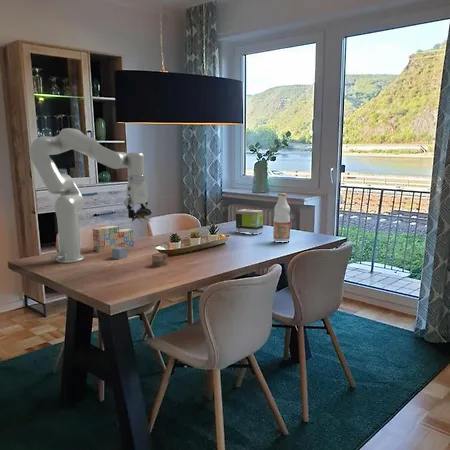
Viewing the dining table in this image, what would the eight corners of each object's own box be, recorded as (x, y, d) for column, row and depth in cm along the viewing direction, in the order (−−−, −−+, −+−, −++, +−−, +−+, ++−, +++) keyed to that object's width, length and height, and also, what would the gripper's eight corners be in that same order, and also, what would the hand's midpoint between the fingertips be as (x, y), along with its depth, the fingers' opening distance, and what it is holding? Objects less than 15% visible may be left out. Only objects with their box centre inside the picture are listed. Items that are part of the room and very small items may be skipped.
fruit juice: (270, 241, 259) (270, 193, 254) (283, 239, 263) (284, 192, 258) (279, 244, 250) (280, 194, 246) (292, 242, 255) (294, 194, 250)
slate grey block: (119, 259, 216) (119, 249, 215) (112, 258, 219) (111, 248, 218) (127, 257, 220) (126, 247, 220) (119, 256, 223) (119, 246, 222)
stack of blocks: (127, 244, 250) (126, 223, 248) (134, 246, 246) (133, 224, 244) (93, 250, 235) (92, 228, 233) (99, 252, 231) (98, 229, 229)
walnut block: (160, 267, 203) (160, 256, 202) (152, 265, 205) (152, 255, 204) (167, 264, 207) (167, 254, 206) (159, 263, 209) (159, 252, 209)
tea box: (263, 232, 284) (263, 210, 282) (256, 235, 275) (256, 212, 273) (242, 230, 291) (242, 208, 289) (235, 233, 283) (235, 210, 280)
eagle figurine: (135, 221, 204) (153, 216, 208) (130, 207, 206) (148, 203, 210) (132, 227, 211) (150, 223, 215) (128, 214, 213) (145, 210, 217)
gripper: (128, 180, 197) (130, 220, 200) (154, 178, 211) (155, 215, 214) (116, 180, 201) (118, 218, 204) (143, 178, 215) (144, 214, 218)
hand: (137, 216), depth 209 cm, fingers closed on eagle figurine, 7 cm apart
